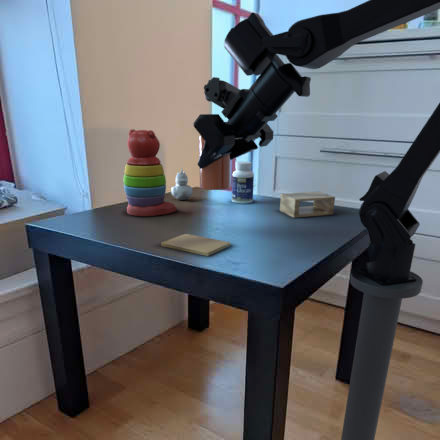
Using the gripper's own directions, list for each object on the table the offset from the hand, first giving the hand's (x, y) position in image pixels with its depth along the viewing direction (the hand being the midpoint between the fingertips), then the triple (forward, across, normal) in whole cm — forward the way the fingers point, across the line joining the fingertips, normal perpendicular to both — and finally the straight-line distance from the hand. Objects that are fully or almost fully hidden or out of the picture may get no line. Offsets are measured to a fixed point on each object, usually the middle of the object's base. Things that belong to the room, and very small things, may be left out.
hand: (208, 164), depth 77 cm
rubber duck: (+25, -22, -8) cm, 34 cm away
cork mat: (+6, +10, +11) cm, 16 cm away
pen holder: (+2, 0, +4) cm, 4 cm away
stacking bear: (+24, -6, -6) cm, 25 cm away
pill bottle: (+15, -28, +3) cm, 32 cm away
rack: (+2, -25, +16) cm, 30 cm away
